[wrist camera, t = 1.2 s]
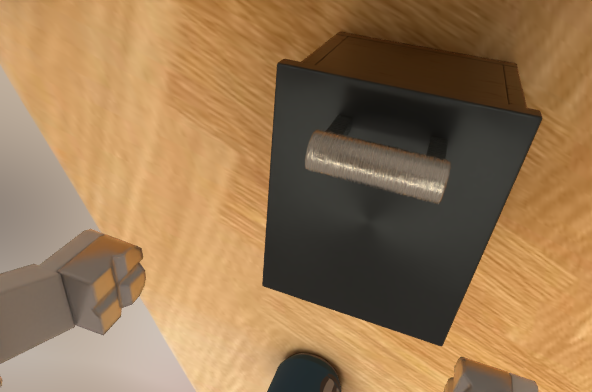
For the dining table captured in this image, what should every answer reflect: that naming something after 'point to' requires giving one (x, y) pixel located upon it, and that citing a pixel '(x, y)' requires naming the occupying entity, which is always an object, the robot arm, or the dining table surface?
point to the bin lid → (385, 194)
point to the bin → (422, 67)
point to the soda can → (305, 375)
